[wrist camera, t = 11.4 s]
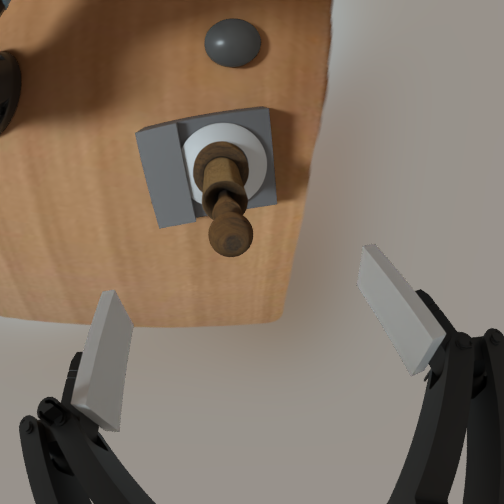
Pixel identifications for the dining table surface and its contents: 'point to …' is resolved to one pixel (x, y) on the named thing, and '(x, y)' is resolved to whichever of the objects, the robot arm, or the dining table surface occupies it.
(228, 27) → the dark grey dome
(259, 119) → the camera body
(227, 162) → the brown wooden pepper mill
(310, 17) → the dining table surface
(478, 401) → the robot arm
